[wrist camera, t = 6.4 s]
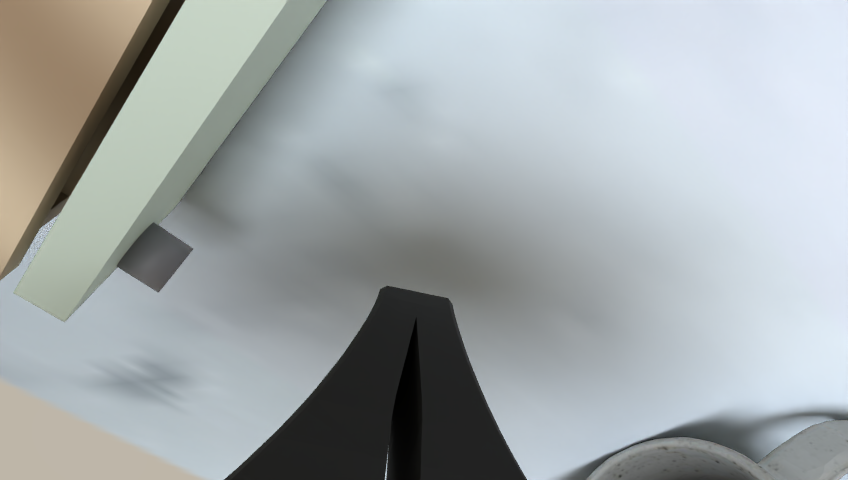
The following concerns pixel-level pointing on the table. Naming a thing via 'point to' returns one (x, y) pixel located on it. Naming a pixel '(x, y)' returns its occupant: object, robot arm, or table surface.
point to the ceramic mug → (733, 459)
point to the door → (162, 148)
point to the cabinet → (63, 98)
